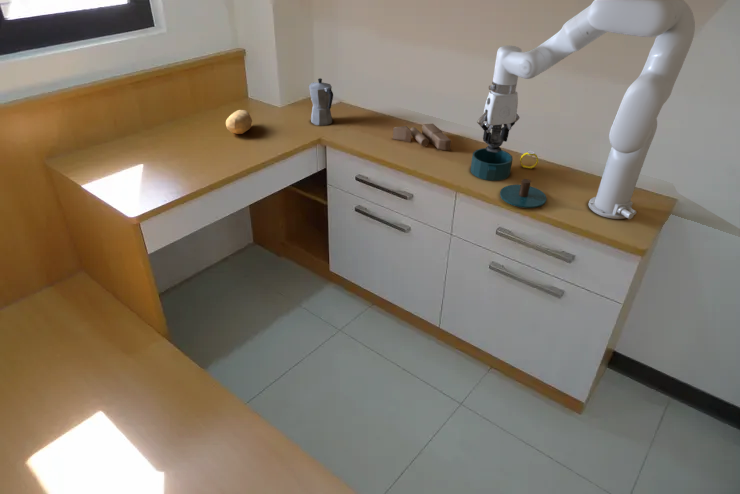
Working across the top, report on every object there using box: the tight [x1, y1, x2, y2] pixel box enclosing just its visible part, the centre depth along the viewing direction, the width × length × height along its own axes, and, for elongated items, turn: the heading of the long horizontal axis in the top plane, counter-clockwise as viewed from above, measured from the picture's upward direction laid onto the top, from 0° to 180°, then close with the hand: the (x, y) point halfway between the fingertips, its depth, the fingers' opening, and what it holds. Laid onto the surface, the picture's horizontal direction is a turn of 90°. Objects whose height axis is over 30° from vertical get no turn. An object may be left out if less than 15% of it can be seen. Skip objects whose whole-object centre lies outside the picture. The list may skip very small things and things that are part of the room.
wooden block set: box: [392, 123, 452, 151], centre depth 196 cm, size 17×6×18 cm
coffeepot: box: [308, 77, 334, 127], centre depth 210 cm, size 15×9×18 cm, turn 37°
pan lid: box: [499, 178, 548, 209], centre depth 162 cm, size 14×14×6 cm
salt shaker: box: [485, 124, 505, 152], centre depth 171 cm, size 6×6×12 cm
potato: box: [225, 109, 253, 135], centre depth 203 cm, size 10×14×8 cm
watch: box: [519, 150, 539, 170], centre depth 181 cm, size 6×3×6 cm, turn 78°
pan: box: [470, 147, 514, 182], centre depth 177 cm, size 13×19×6 cm
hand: (495, 140), depth 172 cm, fingers closed on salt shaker, 5 cm apart
